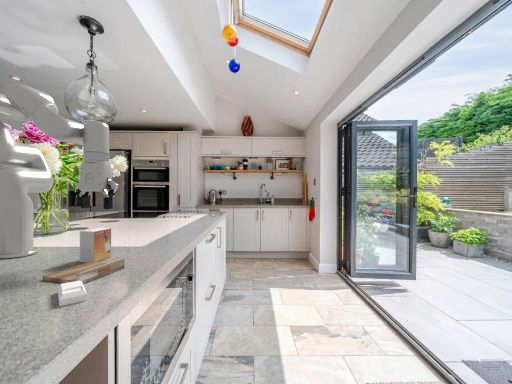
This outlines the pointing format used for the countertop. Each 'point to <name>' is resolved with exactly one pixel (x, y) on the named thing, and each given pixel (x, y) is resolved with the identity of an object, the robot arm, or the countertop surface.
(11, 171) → the robot arm
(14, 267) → the countertop surface
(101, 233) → the small box
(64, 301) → the soap bar
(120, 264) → the shelf board
